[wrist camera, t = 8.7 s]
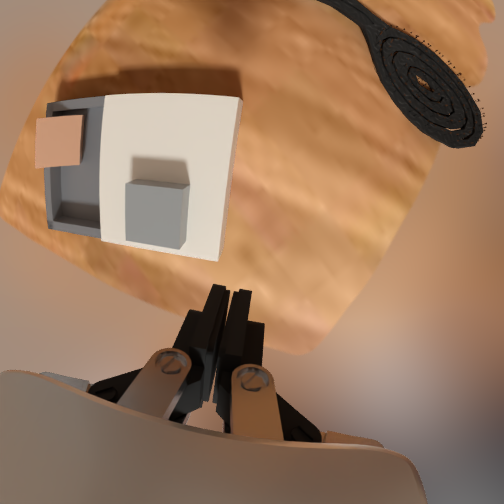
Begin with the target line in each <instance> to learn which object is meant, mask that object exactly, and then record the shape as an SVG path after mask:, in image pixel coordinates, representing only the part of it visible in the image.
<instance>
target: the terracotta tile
mask: <svg viewBox="0 0 504 504" xmlns="http://www.w3.org/2000/svg"><path fill="white" fill-rule="evenodd" d="M84 120H85V115H71V116H58V117H48V118H39V119H37V123H36V141H35V168H45V167H57V166H71V165H80V164H81V163H82V149H83V132H84Z"/></svg>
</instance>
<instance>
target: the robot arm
mask: <svg viewBox="0 0 504 504" xmlns="http://www.w3.org/2000/svg"><path fill="white" fill-rule="evenodd" d="M251 294H252V291H249V290H244V289H239V292H236V291H234V293H233V297H232V301H231V305H230V309H229V313H228V317H227V321H226V316H227V309H228V303H229V296H230V290H226V286H222V285H217V284H213V286H212V288H211V291H210V293H209V296H208V299H207V301H206V304H205V306H204V309H203V311H202V312H200V311H196V310H191V309H190V310H189V312H188V314H187V316H186V318H185V320H184V322H183V325H182V327H181V330H180V331H179V334H178V336H177V338H176V341H175V343H174V345H173V347H172V348H165V349H161V350H159V351H157V352H155V353H154V354H153V355H152V357H151V358H150V359H149V361H148V362H147V363H146V365H145V366H144V367H143V368H141V369H138V370H134V371H131V372H128V373H125V374H122V375H119V376H115V377H112V378H109V379H105V380H102V381H99V382H97V383H95V384H90V382H89V381H87V380H82V379H77V378H72V377H67V376H62V375H58V374H54V373H50V372H42V373H39V374H38V373H34V372H30V371H22V370H7V371H3V372H1V373H0V504H428V503H427V498H426V494H425V490H424V487H423V484H422V481H421V478H420V475H419V473H418V471H417V469H416V467H415V465H414V464H413V463H412V461H411V460H410V459H408V458H407V457H406V456H404V455H402V454H400V453H397V452H395V451H392V450H388V449H385V448H384V447H383V445H382V444H381V443H380V442H378V441H376V440H373V439H368V438H362V437H357V436H351V435H346V434H341V433H336V432H332V431H327V432H326V433H324V432H320V431H319V430H318V429H317V427H316V426H315V425H313V424H312V423H311V422H310V421H308V420H307V419H306V418H305V417H304V416H303V415H301V414H300V413H299V412H298V411H297V410H295V409H294V408H293V407H292V406H291V405H290V404H289V403H287V402H286V401H285V400H284V399H283V398H282V397H281V396H280V395H278V394H277V393H276V391H275V385H274V379H273V377H272V375H271V374H270V372H269V371H268V370H267V369H265V368H264V367H262V356H263V342H264V327H265V324H264V323H259V322H253V321H248V314H249V307H250V301H251ZM225 323H226V325H225ZM216 368H217V369H216ZM215 372H216V377H215V386H214V394H213V403H217V406H216V412H217V413H218V415H219V416H220V417H221V418H222V419H223V420H224V421H223V433H222V432H216V431H212V430H207V429H201V428H197V427H193V426H188V425H186V423H187V421H188V419H189V417H190V413H191V412H192V411H194V410H196V409H198V408H199V407H200V408H201V407H202V404H203V401H207V402H208V401H209V397H210V393H211V389H212V384H213V380H214V376H215Z"/></svg>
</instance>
